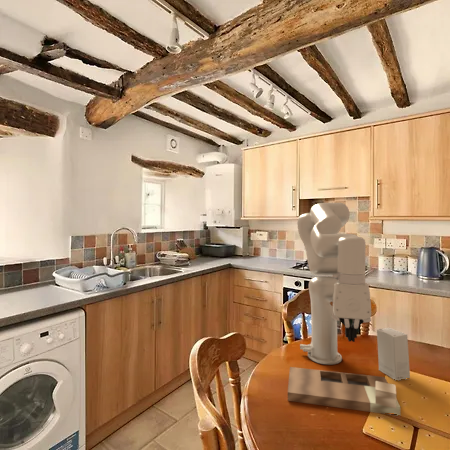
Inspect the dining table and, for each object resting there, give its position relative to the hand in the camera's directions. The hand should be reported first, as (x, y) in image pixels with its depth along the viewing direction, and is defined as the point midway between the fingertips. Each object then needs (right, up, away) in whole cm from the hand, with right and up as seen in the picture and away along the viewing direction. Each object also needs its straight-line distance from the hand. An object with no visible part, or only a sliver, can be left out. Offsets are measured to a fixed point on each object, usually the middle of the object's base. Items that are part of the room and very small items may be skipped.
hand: (350, 339), depth 89 cm
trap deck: (-2, -18, +4) cm, 18 cm away
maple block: (+8, -15, -5) cm, 18 cm away
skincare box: (+21, -18, +15) cm, 31 cm away
